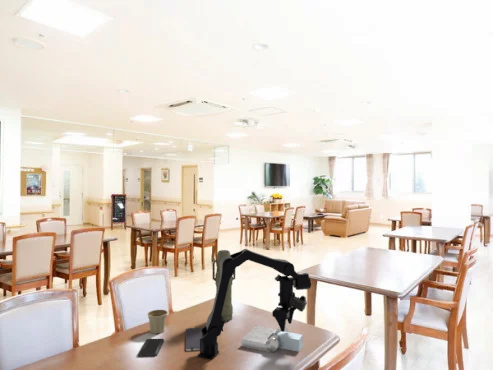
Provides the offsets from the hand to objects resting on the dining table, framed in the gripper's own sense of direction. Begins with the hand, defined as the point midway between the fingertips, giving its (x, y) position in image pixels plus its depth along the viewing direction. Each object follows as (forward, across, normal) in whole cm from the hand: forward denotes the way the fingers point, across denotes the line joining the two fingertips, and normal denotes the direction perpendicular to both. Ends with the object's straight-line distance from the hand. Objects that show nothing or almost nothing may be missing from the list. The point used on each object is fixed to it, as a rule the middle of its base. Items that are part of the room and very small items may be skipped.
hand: (286, 327), depth 145 cm
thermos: (+8, +17, +40) cm, 44 cm away
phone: (+8, -25, +52) cm, 58 cm away
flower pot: (+8, -10, +61) cm, 62 cm away
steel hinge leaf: (+8, 0, +10) cm, 12 cm away
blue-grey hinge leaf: (+8, 0, -1) cm, 8 cm away
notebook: (+9, -9, +38) cm, 40 cm away
